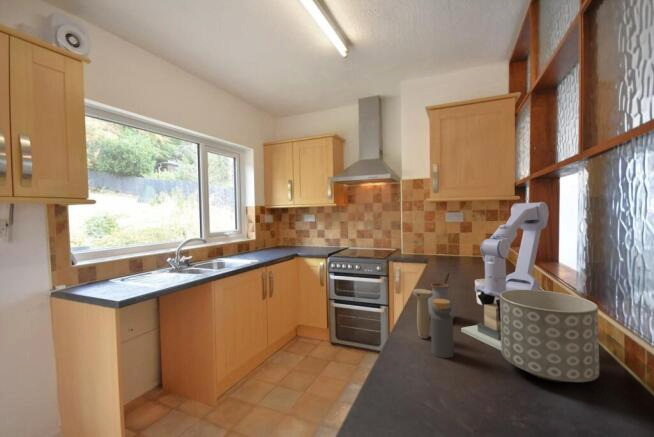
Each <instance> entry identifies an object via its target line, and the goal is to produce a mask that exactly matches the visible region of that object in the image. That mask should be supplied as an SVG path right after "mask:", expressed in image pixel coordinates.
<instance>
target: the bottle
mask: <svg viewBox="0 0 654 437" xmlns="http://www.w3.org/2000/svg"><path fill="white" fill-rule="evenodd" d="M433 304H434V305H433V306H432V310H433V311H434V313H433V314H432V315H431V319H430V329H431V330H430V331H431V332H430V333H431V334H430V337H431V339H430V340H431V353H432V354H433V355H434V356H436V357H438V358H443V359H450V358H452V357H454V354H455V353H454V352H455V351H454V348H455V347H454V346H455V345H454V318H453V317H452V316H451V315H449V313H450V312H451V307H450V301H449V300H446V299H434V300H433Z"/></svg>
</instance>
